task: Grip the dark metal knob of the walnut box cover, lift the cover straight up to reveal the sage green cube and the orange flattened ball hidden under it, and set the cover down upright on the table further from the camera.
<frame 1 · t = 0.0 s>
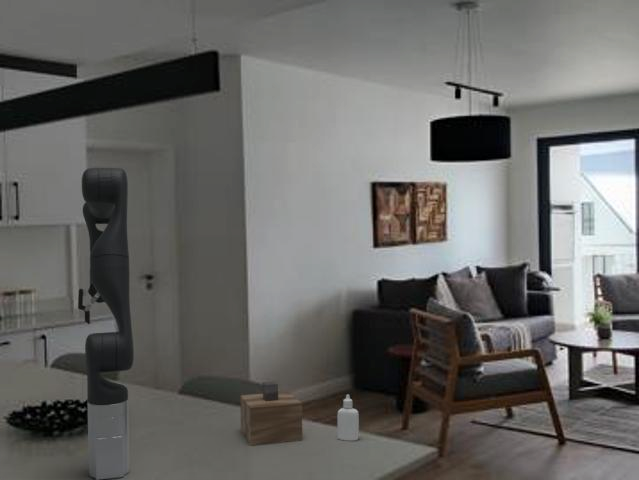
hand: (104, 323, 215), 29 cm above the table, tool pointing down, fingers open, 8 cm apart
orange flattened ball: (260, 434, 202), on the table
cover: (270, 435, 201), on the table
green cube: (282, 437, 199), on the table
eye dropper bottle: (348, 439, 197), on the table
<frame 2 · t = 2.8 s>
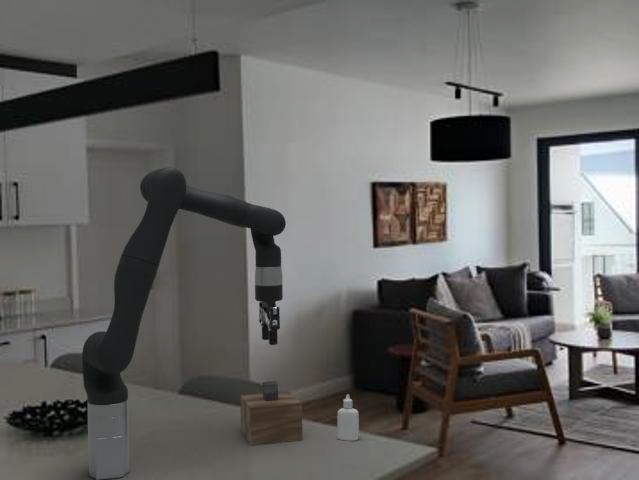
hand: (269, 342, 200), 26 cm above the table, tool pointing down, fingers open, 8 cm apart
nothing on the table moved.
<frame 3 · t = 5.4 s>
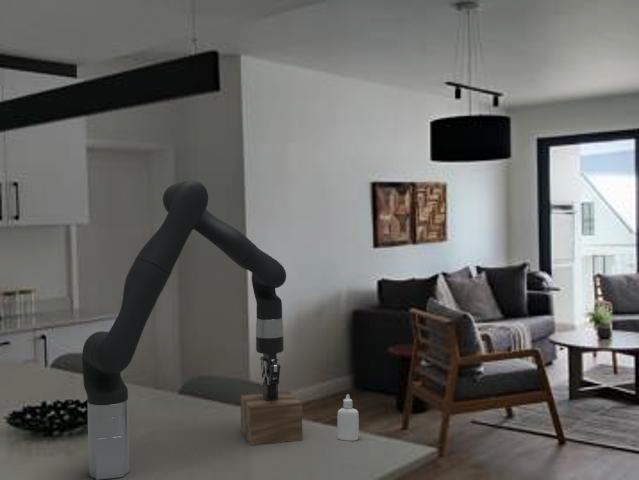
hand: (270, 396, 200), 11 cm above the table, tool pointing down, fingers closed on cover, 3 cm apart
cover: (271, 435, 201), on the table, touching gripper
everything else where it was.
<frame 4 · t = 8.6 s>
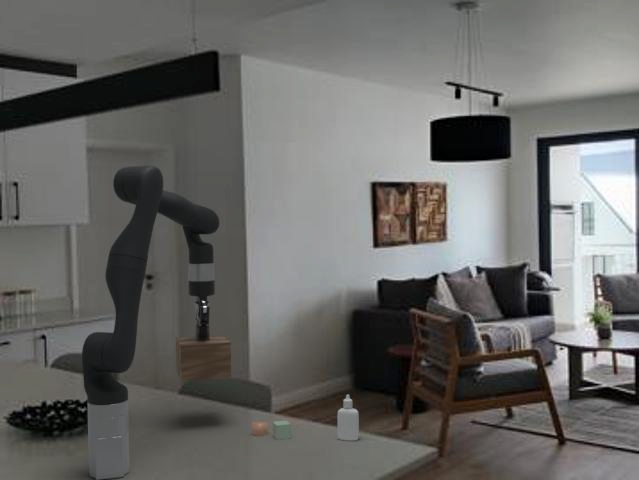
hand: (202, 337, 212), 25 cm above the table, tool pointing down, fingers closed on cover, 3 cm apart
cover: (203, 374, 213), point 14 cm above the table, touching gripper
everything else where it was.
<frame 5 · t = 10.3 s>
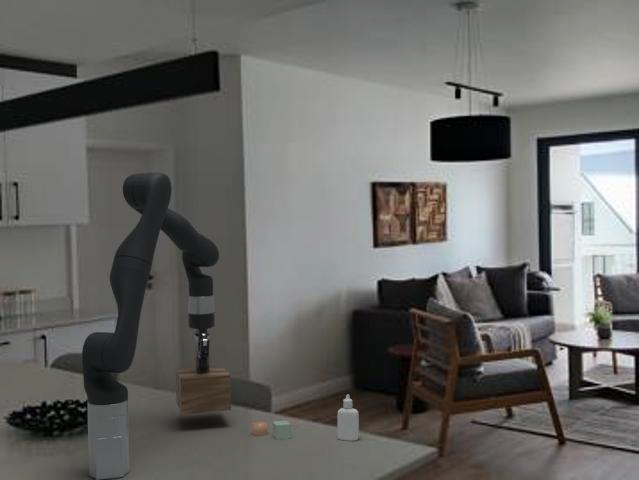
hand: (202, 369, 213), 16 cm above the table, tool pointing down, fingers closed on cover, 3 cm apart
cover: (203, 406, 213), point 5 cm above the table, touching gripper
everything else where it was.
when the fingers open (12 cm above the table, at t = 11.8 s): cover drops 1 cm, on the table.
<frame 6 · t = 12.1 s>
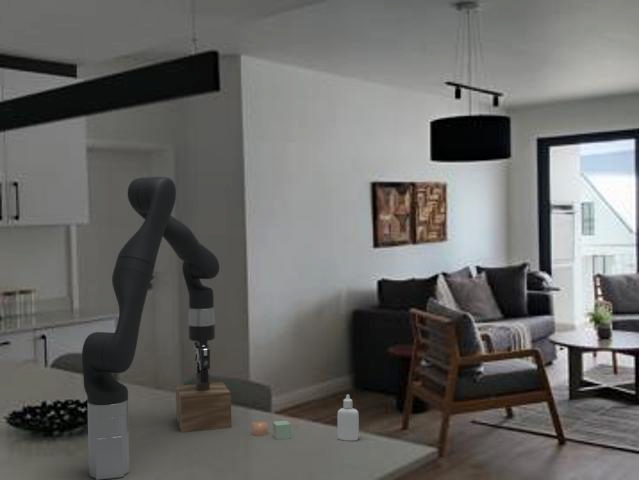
hand: (202, 380, 213), 13 cm above the table, tool pointing down, fingers open, 6 cm apart
cover: (203, 423, 213), on the table
everything else where it was.
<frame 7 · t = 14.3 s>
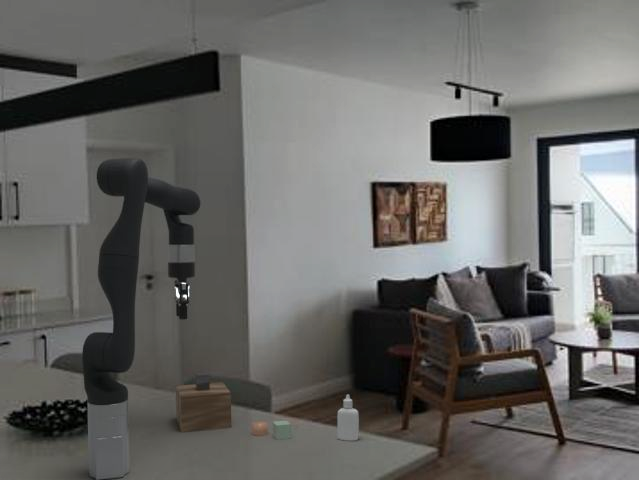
hand: (181, 317, 208), 32 cm above the table, tool pointing down, fingers open, 8 cm apart
nothing on the table moved.
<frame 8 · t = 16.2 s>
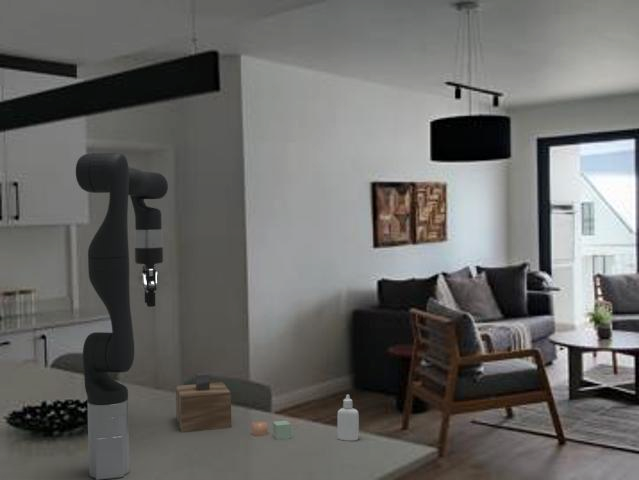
hand: (149, 304, 202), 36 cm above the table, tool pointing down, fingers open, 8 cm apart
nothing on the table moved.
at the end: cover inside the target area (0.1 cm from its centre), on the table; cover tilted 0°; the gripper is holding nothing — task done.
